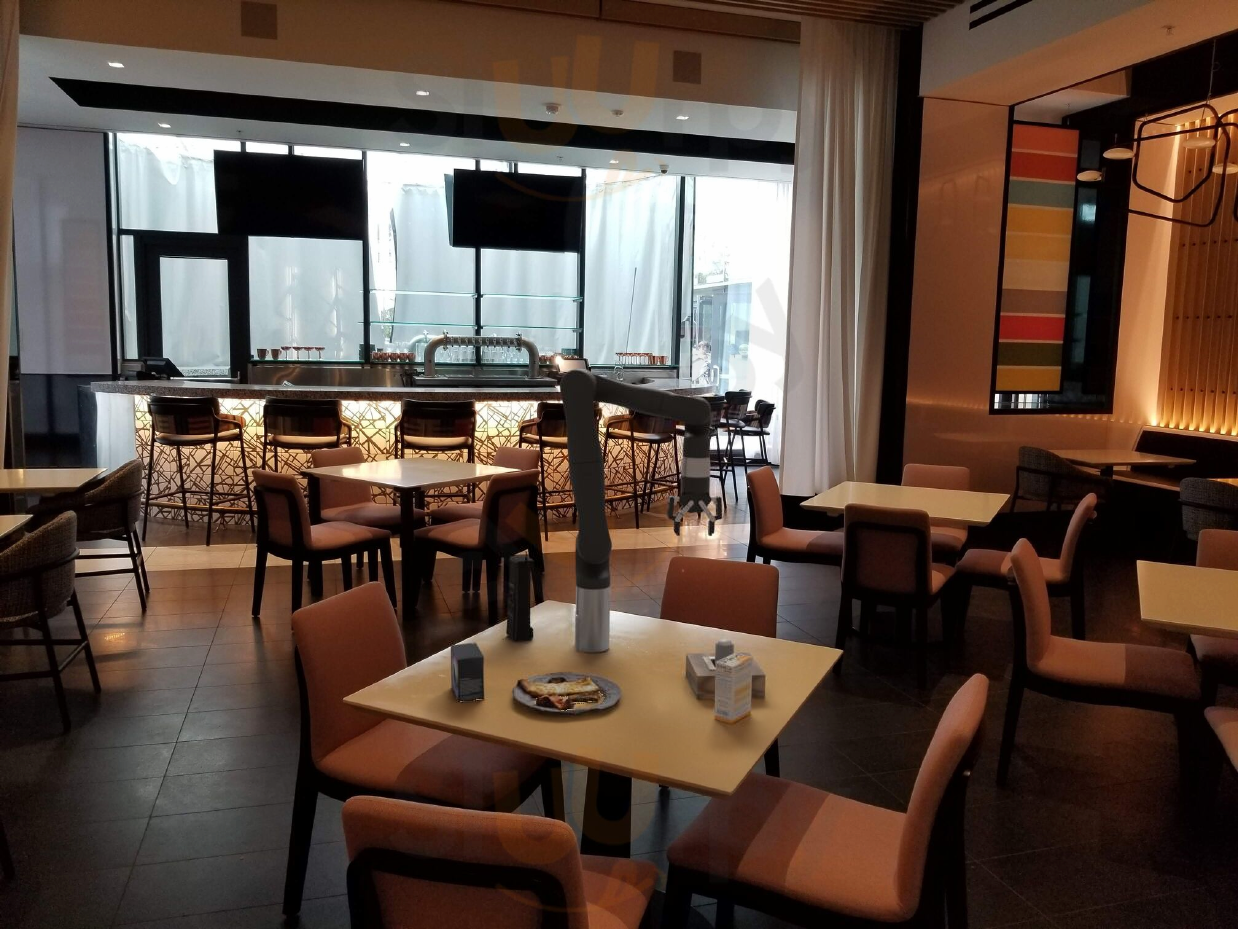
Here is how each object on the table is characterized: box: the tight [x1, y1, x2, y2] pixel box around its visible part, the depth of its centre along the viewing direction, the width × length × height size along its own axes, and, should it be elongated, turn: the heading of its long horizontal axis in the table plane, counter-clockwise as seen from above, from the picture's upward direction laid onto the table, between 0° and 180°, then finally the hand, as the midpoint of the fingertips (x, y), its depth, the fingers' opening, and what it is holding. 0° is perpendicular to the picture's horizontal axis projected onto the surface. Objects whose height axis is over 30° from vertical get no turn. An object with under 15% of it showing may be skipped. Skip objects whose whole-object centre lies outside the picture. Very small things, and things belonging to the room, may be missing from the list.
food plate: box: [511, 671, 622, 715], centre depth 207 cm, size 25×23×4 cm
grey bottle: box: [714, 638, 735, 667], centre depth 216 cm, size 4×4×10 cm
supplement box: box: [713, 652, 753, 725], centre depth 197 cm, size 8×5×13 cm, turn 141°
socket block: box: [685, 652, 766, 700], centre depth 216 cm, size 16×16×6 cm
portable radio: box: [505, 550, 535, 643], centre depth 250 cm, size 8×6×25 cm
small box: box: [450, 642, 485, 703], centre depth 208 cm, size 11×6×10 cm, turn 19°
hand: (694, 535), depth 236 cm, fingers open, 8 cm apart
